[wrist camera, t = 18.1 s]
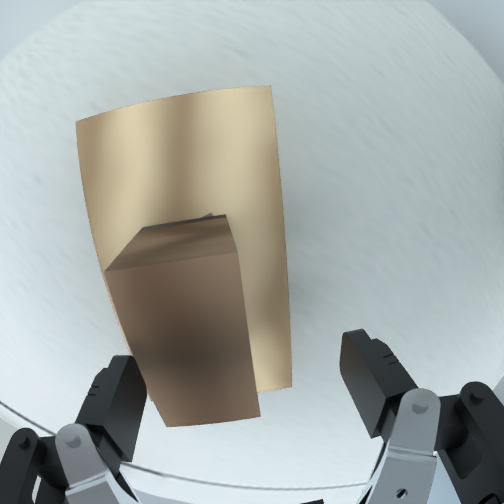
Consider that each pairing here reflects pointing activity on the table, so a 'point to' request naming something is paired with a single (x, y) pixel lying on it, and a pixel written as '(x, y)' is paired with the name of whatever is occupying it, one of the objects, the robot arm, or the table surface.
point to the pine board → (198, 195)
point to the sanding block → (187, 320)
